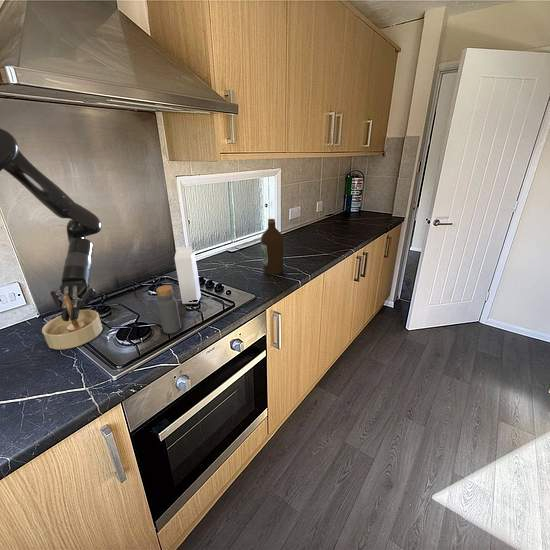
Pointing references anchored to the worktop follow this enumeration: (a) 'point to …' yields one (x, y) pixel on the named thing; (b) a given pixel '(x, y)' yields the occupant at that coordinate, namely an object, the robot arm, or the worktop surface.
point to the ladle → (75, 324)
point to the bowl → (62, 339)
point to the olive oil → (272, 249)
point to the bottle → (168, 309)
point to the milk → (187, 275)
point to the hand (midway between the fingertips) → (69, 320)
